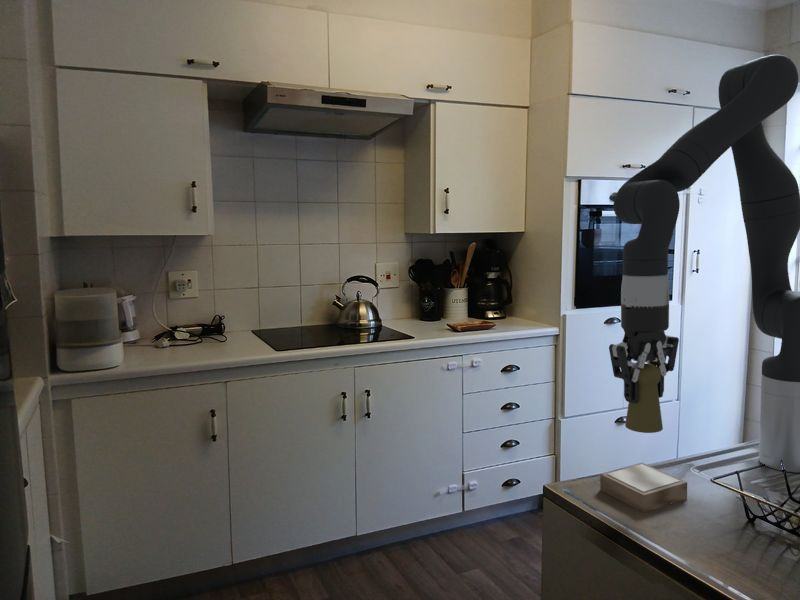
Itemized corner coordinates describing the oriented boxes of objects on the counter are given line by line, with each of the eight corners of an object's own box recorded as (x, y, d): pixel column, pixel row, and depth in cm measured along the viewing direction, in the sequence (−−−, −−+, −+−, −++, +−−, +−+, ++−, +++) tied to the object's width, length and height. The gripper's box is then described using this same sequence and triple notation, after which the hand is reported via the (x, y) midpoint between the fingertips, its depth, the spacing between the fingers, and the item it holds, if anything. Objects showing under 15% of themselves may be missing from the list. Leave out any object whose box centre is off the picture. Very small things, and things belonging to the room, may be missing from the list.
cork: (657, 435, 102) (658, 370, 100) (620, 429, 105) (620, 366, 104) (666, 424, 107) (668, 362, 105) (631, 419, 110) (631, 359, 109)
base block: (641, 477, 114) (641, 461, 114) (686, 498, 105) (687, 481, 105) (600, 489, 110) (600, 473, 110) (643, 512, 101) (643, 494, 101)
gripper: (658, 295, 110) (657, 388, 112) (595, 303, 104) (596, 400, 106) (693, 299, 103) (692, 398, 105) (629, 308, 97) (629, 412, 99)
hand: (644, 398), depth 105 cm, fingers closed on cork, 5 cm apart
